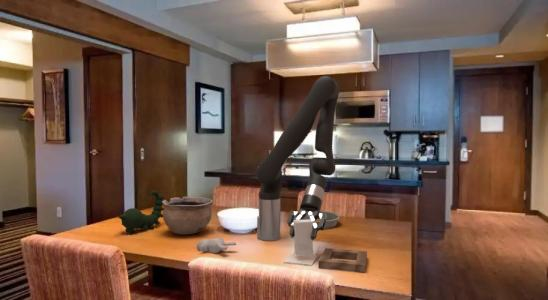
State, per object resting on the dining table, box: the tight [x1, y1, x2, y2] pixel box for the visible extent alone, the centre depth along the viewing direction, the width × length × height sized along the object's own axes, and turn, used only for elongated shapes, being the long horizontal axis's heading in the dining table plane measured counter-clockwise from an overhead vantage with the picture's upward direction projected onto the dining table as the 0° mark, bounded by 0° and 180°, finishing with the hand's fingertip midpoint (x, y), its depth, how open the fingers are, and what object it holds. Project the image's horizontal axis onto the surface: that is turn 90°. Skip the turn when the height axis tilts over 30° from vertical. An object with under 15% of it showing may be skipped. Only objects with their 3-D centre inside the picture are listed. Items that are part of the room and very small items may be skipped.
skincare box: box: [293, 219, 314, 256], centre depth 135 cm, size 6×4×12 cm
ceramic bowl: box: [162, 196, 213, 236], centre depth 172 cm, size 22×22×15 cm
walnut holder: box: [318, 247, 368, 274], centre depth 131 cm, size 15×15×2 cm
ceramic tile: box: [283, 252, 318, 267], centre depth 135 cm, size 10×10×1 cm
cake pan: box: [293, 210, 341, 230], centre depth 190 cm, size 25×25×4 cm
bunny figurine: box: [195, 237, 237, 254], centre depth 144 cm, size 10×5×15 cm
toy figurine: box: [117, 190, 165, 235], centre depth 176 cm, size 9×19×25 cm
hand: (301, 237), depth 133 cm, fingers closed on skincare box, 7 cm apart
